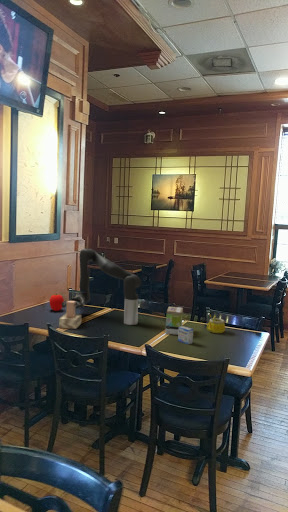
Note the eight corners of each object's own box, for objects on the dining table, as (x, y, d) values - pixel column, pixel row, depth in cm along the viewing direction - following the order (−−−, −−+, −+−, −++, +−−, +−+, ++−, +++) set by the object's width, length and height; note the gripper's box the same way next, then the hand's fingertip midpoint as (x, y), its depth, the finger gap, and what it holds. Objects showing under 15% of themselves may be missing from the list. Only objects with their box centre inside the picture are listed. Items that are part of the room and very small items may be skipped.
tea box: (180, 335, 230) (182, 312, 229) (164, 333, 232) (166, 310, 230) (182, 328, 245) (183, 307, 244) (167, 327, 246) (168, 305, 245)
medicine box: (177, 341, 218) (178, 326, 217) (182, 339, 221) (183, 325, 220) (188, 344, 212) (188, 330, 212) (192, 343, 215) (193, 328, 215)
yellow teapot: (218, 328, 248) (219, 311, 247) (227, 333, 238) (229, 315, 237) (202, 330, 243) (203, 312, 242) (210, 335, 233) (212, 316, 232)
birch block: (81, 323, 247) (81, 314, 247) (75, 328, 234) (76, 319, 234) (65, 322, 248) (65, 313, 248) (59, 327, 235) (59, 318, 235)
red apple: (64, 312, 277) (65, 295, 276) (50, 312, 273) (50, 295, 272) (62, 308, 287) (62, 292, 286) (48, 309, 283) (48, 292, 282)
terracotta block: (75, 315, 243) (75, 301, 242) (73, 317, 238) (73, 302, 237) (68, 315, 243) (68, 300, 242) (66, 317, 239) (66, 302, 238)
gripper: (67, 295, 255) (59, 300, 239) (87, 296, 253) (80, 301, 237) (66, 306, 255) (59, 311, 239) (86, 307, 254) (80, 313, 238)
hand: (70, 306), depth 238 cm, fingers open, 8 cm apart
